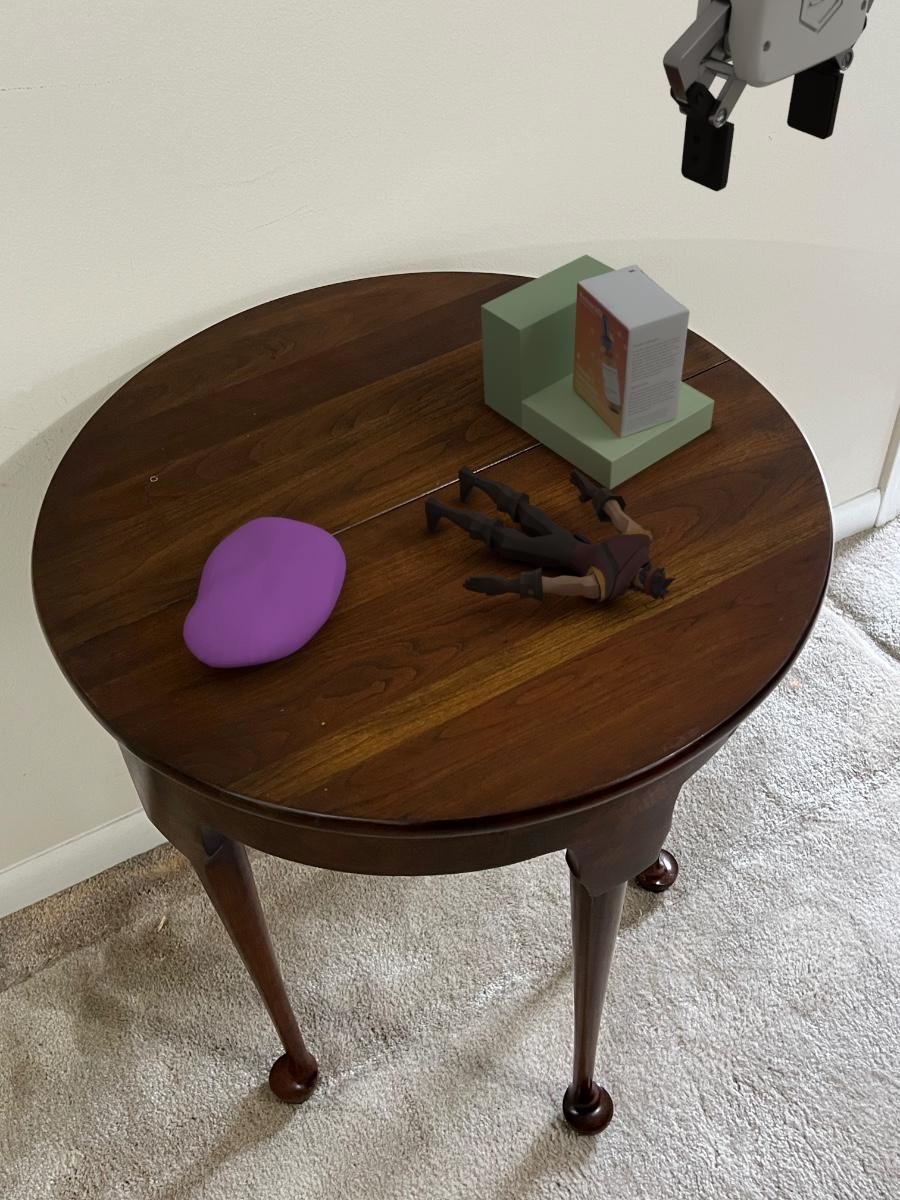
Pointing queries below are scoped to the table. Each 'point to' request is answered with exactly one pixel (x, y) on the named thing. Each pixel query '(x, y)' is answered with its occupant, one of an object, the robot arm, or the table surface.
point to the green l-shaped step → (568, 381)
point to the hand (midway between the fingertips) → (757, 156)
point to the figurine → (555, 544)
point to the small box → (629, 349)
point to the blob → (264, 593)
